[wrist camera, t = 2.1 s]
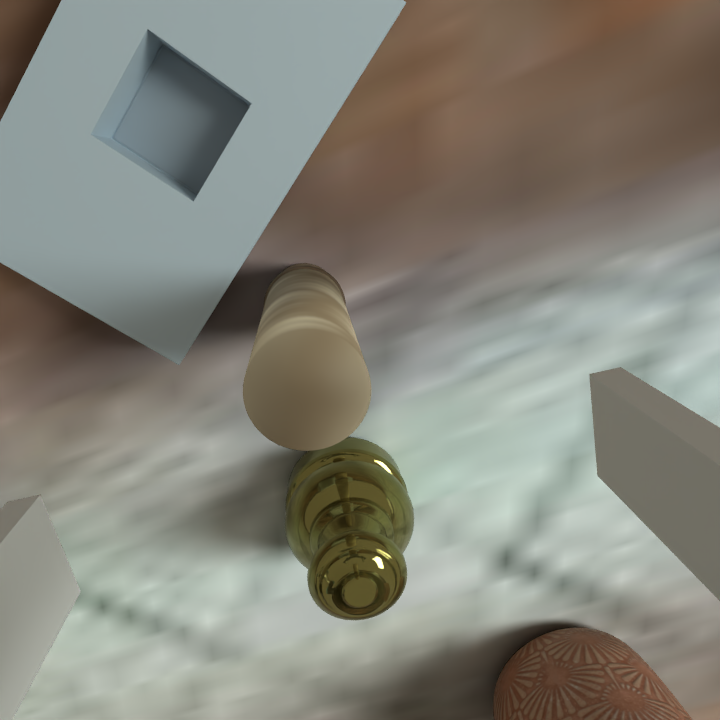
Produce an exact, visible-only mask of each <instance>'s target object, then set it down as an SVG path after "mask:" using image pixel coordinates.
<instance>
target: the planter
mask: <svg viewBox="0 0 720 720" xmlns="http://www.w3.org/2000/svg"><path fill="white" fill-rule="evenodd" d="M493 713H494V720H692V718H691V717H690V716H689V715H688V713H687V712H686V711H685V709H684V708H683V707H682V706H681V704H680V703H679V702H678V700H677V699H676V698H675V696H674V695H673V694H672V693H671V692H670V690H669V689H668V688H667V687H666V685H665V684H664V683H663V682H662V680H661V679H660V678H659V677H658V676H657V675H656V673H655V672H654V671H653V670H652V669H651V668H650V667H649V665H648V664H647V663H646V662H645V661H644V660H643V659H642V658H641V657H640V656H639V655H638V654H637V653H636V652H635V651H634V650H633V649H631V648H630V647H629V646H628V645H627V644H625V643H624V642H622V641H621V640H619V639H618V638H616V637H614V636H612V635H610V634H608V633H605V632H602V631H598V630H594V629H589V628H566V629H561V630H556V631H552V632H549V633H546V634H544V635H541V636H539V637H537V638H535V639H534V640H532V641H530V642H529V643H527V644H526V645H524V646H523V647H522V648H521V649H519V650H518V651H517V652H516V653H515V654H514V655H513V656H512V657H511V658H510V660H509V661H508V662H507V663H506V665H505V666H504V668H503V670H502V672H501V674H500V676H499V678H498V681H497V683H496V687H495V692H494V699H493Z"/></svg>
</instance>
